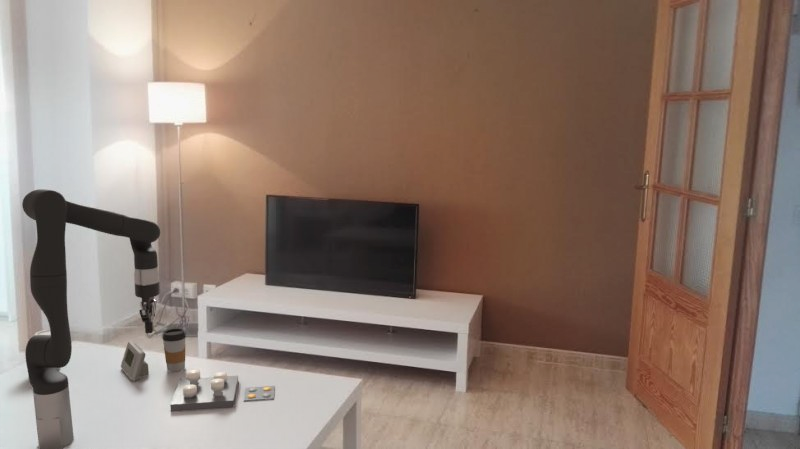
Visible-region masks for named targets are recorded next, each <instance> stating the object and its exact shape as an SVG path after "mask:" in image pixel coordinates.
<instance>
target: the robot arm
mask: <svg viewBox="0 0 800 449" xmlns="http://www.w3.org/2000/svg"><path fill="white" fill-rule="evenodd" d="M21 207H22V210H23V213H25V215H26V216H27V217H29V218H30V219H32V220H34V221H35V226H36V245H35V246H36V247H35V249H34V252H33V256H32V259H31V262H30V268H29V282H30V283H29V284H30V285H29V286H30V293H31V295H32V297H33V300H34V301H35V302H36V304H37V305H38V307H39V308H40V310H41V311H42V313H43V314H44V315H45V317H46V320H47V322H48V326H49V330H50V332H51V335H35V336H34V335H33V336H32V337H30V338H29V340H28V341H27V343H26V347H25V351H24V352H25V362H26V363H25V364H26V368H27V374H28V375H27V376H28V381H29V383H30V386H31V388H32V394H33V403H34V404H33V405H34V414H35V424H36V432H37V440H38V441H37V443H38V447H39V449H64V448H65V447H66V446H68V445H70V444H71V443H72V442H73V441H74V438H75V437H74V436H75V435H74V428H73V419H72V418H73V416H72V408H71V398H70V387H69V384H70V383H69V377H68V376H67V375H66V374H65V373H64V372H61V371H59V370H58V371H57V370H55V369H54V368H60V369H61V368H64V367H67V365H68V364H69V363H70V361H71V358H72V357H71V356H72V348H73V347H72V336H71V330H70V329H71V328H70V322H69V320H70V319H69V313H68V312H69V311H68V310H69V309H68V274H67V272H68V271H67V255H66V254H67V253H66V252H67V250H66V227H67V226H66V225H67V224H70V225H71V224H72V225H74V226H79V227H83V228H86V229H88V230H89V229H90V230H93V231H97V232H99V233H104V234H107V235H113V236H116V237H123V238H129V242H130V246H131V249H132V253H133V262H134V264H133V265H134V272H133V281H134V296H135V297H137V298H141V302H140V303H139V304H140V305H139V306H140V309H139V311H138V312H139V315H140V317H141V318H140V319H141V322H142V323H144V328H145V330H144V331H145V333H146V334H151V333H153V332H154V320H155V317H156V308H157V299H155V297H157V296H159V295H160V294H161V289H160V273H159V271H160V270H159V267H158V265H159V264H158V253H157V251H156V250H155V249H154V248H153V247H152V243H153V242H154V243H155V242H156V241H157V240H158V239H160V236H161V228H160V227H159V225H158V224H157V223H155V222H154V221H151V220H147V219H142V218H137V217H133V216H130V215H127V214H124V213H120V212H116V211H112V210H109V209H105V208H99V207H94V206H90V205H84V204H80V203H76V202H72V201H69V200H67V199H66V198H65V197H64V196H63V194H62V193H60V192H59V191H57V190H54V189H41V188H40V189H35V190H32V191H30V192H29V193H27V194H26V195H25V196H24V197H23V199H22V206H21Z"/></svg>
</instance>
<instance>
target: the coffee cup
mask: <svg viewBox="0 0 800 449" xmlns="http://www.w3.org/2000/svg"><path fill="white" fill-rule="evenodd" d="M186 337H187V336H186V332H185V330H184V329H183V328H179V327H177V328H176V327H175V328H169V329H166V330H164V332H163V334H162V340H163V350H164V358H165V359H164V360H165V364H166V370H167V372H169V373H172V374H173V373H181V372H182V371H184V370H185V368H186Z"/></svg>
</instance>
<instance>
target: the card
mask: <svg viewBox="0 0 800 449" xmlns="http://www.w3.org/2000/svg"><path fill="white" fill-rule="evenodd" d="M274 399H275V385H269V386H267V385H266V386H249V387H245V390H244V396H243V402H255V401H268V400H269V401H270V400H271V401H272V400H273V401H274Z"/></svg>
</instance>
